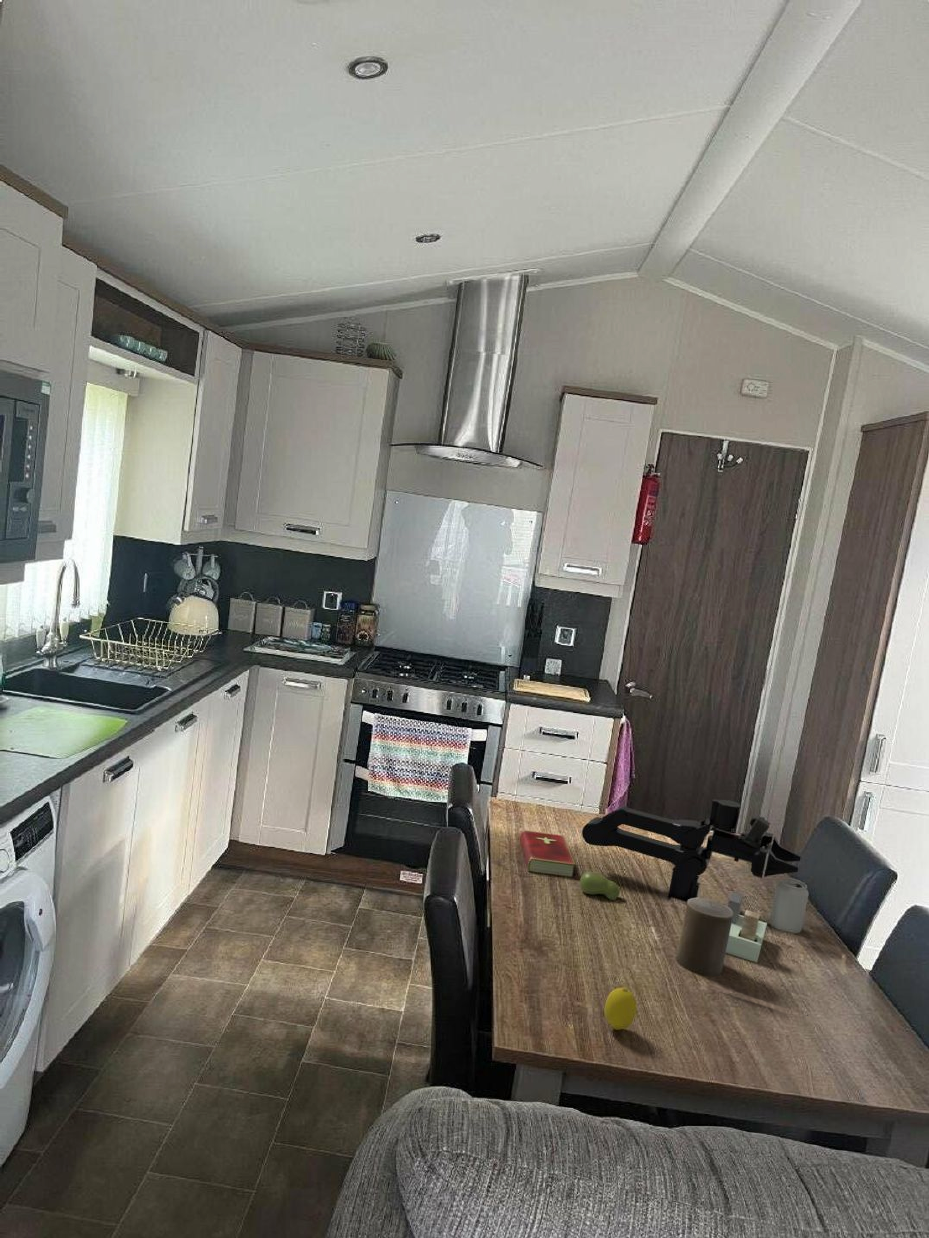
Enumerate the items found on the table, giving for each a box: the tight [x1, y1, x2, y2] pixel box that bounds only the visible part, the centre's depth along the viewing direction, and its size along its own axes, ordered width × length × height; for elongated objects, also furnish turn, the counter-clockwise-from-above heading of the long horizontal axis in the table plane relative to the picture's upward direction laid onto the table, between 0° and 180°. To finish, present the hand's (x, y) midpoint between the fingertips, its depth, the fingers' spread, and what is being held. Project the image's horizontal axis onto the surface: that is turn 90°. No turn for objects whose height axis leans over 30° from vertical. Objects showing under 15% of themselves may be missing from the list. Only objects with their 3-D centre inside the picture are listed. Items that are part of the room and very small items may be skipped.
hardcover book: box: [519, 829, 577, 877], centre depth 247 cm, size 12×21×4 cm, turn 2°
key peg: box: [740, 909, 761, 941], centre depth 206 cm, size 3×3×9 cm
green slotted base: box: [727, 891, 768, 950], centre depth 210 cm, size 10×14×6 cm
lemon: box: [604, 987, 637, 1031], centre depth 167 cm, size 6×6×8 cm
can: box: [768, 877, 810, 935], centre depth 225 cm, size 8×8×12 cm
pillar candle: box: [674, 896, 733, 977], centre depth 196 cm, size 10×10×15 cm
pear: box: [579, 871, 622, 901], centre depth 229 cm, size 6×5×10 cm
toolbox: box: [725, 934, 764, 963], centre depth 210 cm, size 10×14×4 cm
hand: (799, 864), depth 224 cm, fingers open, 9 cm apart
